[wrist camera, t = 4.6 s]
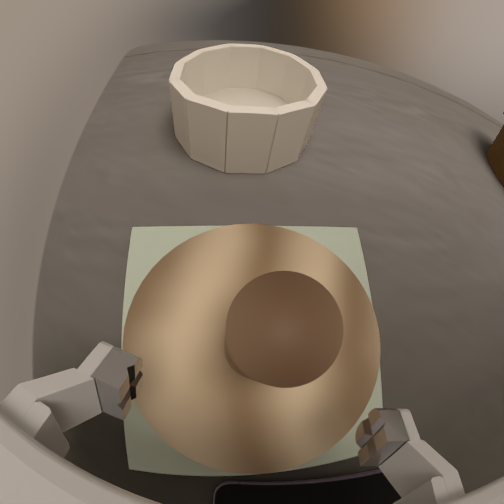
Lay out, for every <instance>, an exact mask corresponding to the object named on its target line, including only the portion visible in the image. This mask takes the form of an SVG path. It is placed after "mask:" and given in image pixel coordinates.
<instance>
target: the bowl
mask: <svg viewBox="0 0 504 504" xmlns="http://www.w3.org/2000/svg"><path fill="white" fill-rule="evenodd" d="M169 88H170V97H171V106H172V114H173V122H174V130H175V137H176V138H177V140H178V141H179V143H180V144H181V146H182V147H183V149H184V150H185V151H186V153H187V154H188V156H189V157H190V158H191V159H193V160H195V161H198V162H200V163H202V164H205V165H207V166H209V167H212V168H214V169H216V170H219V171H221V172H223V173H224V172H225V173H251V174H265V173H266V174H267V173H269V172H272V171H274V170H276V169H279V168H281V167H284V166H286V165H289V164H291V163H293V162H296V161H297V160H298V159H299V157H300V155H301V154H302V152H303V150H304V148H305V147H306V145H307V143H308V142H309V140H310V137H311V134H312V131H313V128H314V126H315V123H316V120H317V117H318V114H319V111H320V109H321V106H322V103H323V100H324V97H325V94H326V91H327V87H326V85H325V83H324V81H323V79H322V77H321V75H320V73H319V71H318V70H317V69H316V68H314V67H313V66H311V65H310V64H308V63H307V62H305V61H304V60H302V59H301V58H299V57H297V56H296V55H294V54H291V53H288V52H284V51H281V50H278V49H274V48H271V47H267V46H263V45H251V44H224V45H218V46H213V47H208V48H203V49H199V50H196V51H195V52H193V53H191V54H189V55H188V56H186V57H184V58H182V59H181V60H179V61H177V62H176V63H175V65H174V68H173V70H172V73H171V76H170V78H169Z"/></svg>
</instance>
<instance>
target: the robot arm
mask: <svg viewBox="0 0 504 504" xmlns="http://www.w3.org/2000/svg"><path fill="white" fill-rule="evenodd" d="M142 366H143V359H142V358H141V357H138V356H136V355H133V354H131V353H129V352H126V351H124V350H122V349H120V348H117V347H115V346H113V345H110V344H108V343H106V342H104V341H102V342H100V343H99V344H98V345H97V346H96V347H95V348H94V350H93V351H92V352H91V353H90V354H89V355H88V357H87V358H86V359H85V360H84V361H83V363H82V364H81V365H80V366H79V367H78V369H75V368H71V369H68V370H65V371H61V372H58V373H55V374H51V375H48V376H45V377H41V378H38V379H34V380H31V381H27V382H23V383H20V384H18V385H17V386H16V387H15V388H14V389H13V390H12V391H11V393H10V394H9V395H8V396H7V397H6V398H5V400H4V401H3V402H2V403H1V404H0V504H162V503H158V502H156V501H153V500H150V499H147V498H144V497H142V496H139V495H136V494H134V493H131V492H129V491H126V490H124V489H122V488H119V487H117V486H115V485H113V484H111V483H108V482H106V481H104V480H102V479H100V478H98V477H96V476H94V475H92V474H90V473H88V472H87V471H85V470H83V469H81V468H79V467H77V466H76V465H74V464H72V463H71V462H69V461H67V460H66V459H64V458H65V456H66V454H67V452H68V451H69V449H70V446H69V443H68V441H67V440H66V438H65V436H64V434H63V432H65V431H67V430H69V429H71V428H73V427H75V426H77V425H79V424H81V423H83V422H85V421H87V420H89V419H91V418H92V417H94V416H96V415H98V414H100V413H102V411H103V412H105V413H107V414H109V415H112V416H114V417H116V418H119V419H121V420H125V418H126V416H127V415H128V413H129V411H130V409H131V400H133V399H135V398H137V396H138V394H139V392H140V389H141V386H142V382H143V374H142V372H141V371H140V369H141V368H142ZM355 439H356V444H357V445H358V446H359V447H360V450H359V451H358V457H359V463H360V466H379V468H380V470H381V471H382V472H383V474H384V475H385V476H386V478H387V479H388V480H389V482H390V483H391V484H392V486H393V487H394V488H395V490H396V491H397V492H398V494H399V495H400V496H401V499H400V500H398V501H396V502H394V503H393V504H504V476H502V477H500V478H498V479H497V480H495V481H493V482H491V483H489V484H487V485H485V486H482V487H480V488H478V489H476V490H474V491H471V492H469V493H467V494H465V492H464V489H463V486H462V483H461V480H460V476H459V474H458V471H457V469H455V468H454V467H453V466H452V465H451V464H450V463H449V462H447V461H446V460H445V459H444V458H443V457H442V456H441V455H440V454H439V453H437V452H436V451H435V450H434V449H433V448H432V447H431V446H430V445H428V444H427V443H426V442H425V441H424V440H420V437H419V434H418V431H417V428H416V426H415V423H414V420H413V418H412V415H411V413H410V411H409V410H408V409H392V408H374V409H372V410H371V411H370V412H369V413H368V418H367V419H365V420H363V421H362V422H361V423H360V424H359V425H358V427H357V430H356V434H355Z"/></svg>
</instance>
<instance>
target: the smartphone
mask: <svg viewBox="0 0 504 504" xmlns="http://www.w3.org/2000/svg"><path fill="white" fill-rule="evenodd" d="M400 499H401V496H400V495H399V494H398V492H397V491H396V490H395V488H394V487H393V486H392V484H391V483H390V482H389V480H388V479H387V478H386V476H385V475H384V474H383V472H382V471H381V470H380V469H375V470H371V471H366V472H361V473H356V474H350V475H344V476H337V477H330V478H322V479H311V480H298V481H274V482H257V481H226V482H223V483H221V484H219V485H218V486H217V487H216V488H215V491H214V496H213V504H393V503H394V502H396V501H398V500H400Z"/></svg>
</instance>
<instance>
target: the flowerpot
mask: <svg viewBox="0 0 504 504" xmlns="http://www.w3.org/2000/svg"><path fill="white" fill-rule="evenodd" d="M503 114H504V113H503ZM486 154H487V158H488V161H489V164H490V166H491V168H492V169H493V171H494V173H495V175H496V177H497V178H498V179H499V181H500V182H501V184H502V185H503V186H504V125H503V127H502V129H501V130H500V132H499V134H498V135H497V137H496V139H495V140H494V142H493V144H492V145H491V147H490V148H489V150H488V152H487V153H486Z"/></svg>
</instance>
